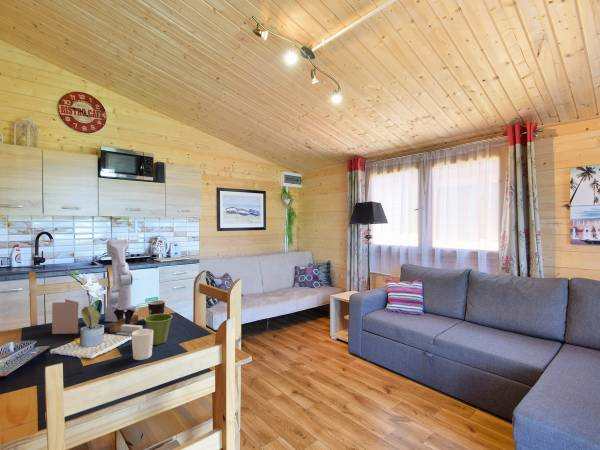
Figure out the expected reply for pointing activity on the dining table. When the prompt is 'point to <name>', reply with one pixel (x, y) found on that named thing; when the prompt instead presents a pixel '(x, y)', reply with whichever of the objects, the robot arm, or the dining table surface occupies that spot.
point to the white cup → (142, 344)
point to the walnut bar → (122, 323)
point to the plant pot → (159, 327)
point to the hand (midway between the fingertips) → (124, 324)
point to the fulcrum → (129, 329)
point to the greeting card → (65, 317)
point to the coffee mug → (156, 307)
